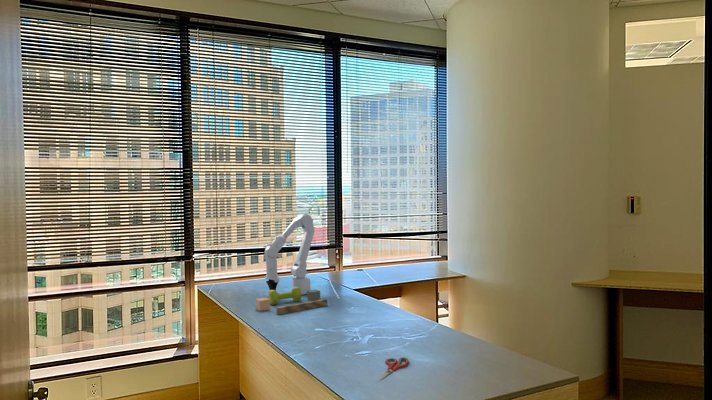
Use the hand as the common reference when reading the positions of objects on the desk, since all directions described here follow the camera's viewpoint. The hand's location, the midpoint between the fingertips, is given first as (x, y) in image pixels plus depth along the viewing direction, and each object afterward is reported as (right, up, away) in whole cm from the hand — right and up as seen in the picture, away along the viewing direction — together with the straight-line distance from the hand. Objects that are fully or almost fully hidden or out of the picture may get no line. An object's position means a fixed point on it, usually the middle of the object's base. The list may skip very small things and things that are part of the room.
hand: (272, 293), depth 266 cm
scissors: (+56, -3, -113) cm, 126 cm away
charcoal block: (+23, -1, -11) cm, 26 cm away
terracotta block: (0, -3, -26) cm, 26 cm away
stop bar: (+19, -2, -30) cm, 36 cm away
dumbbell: (+9, -2, -13) cm, 16 cm away
